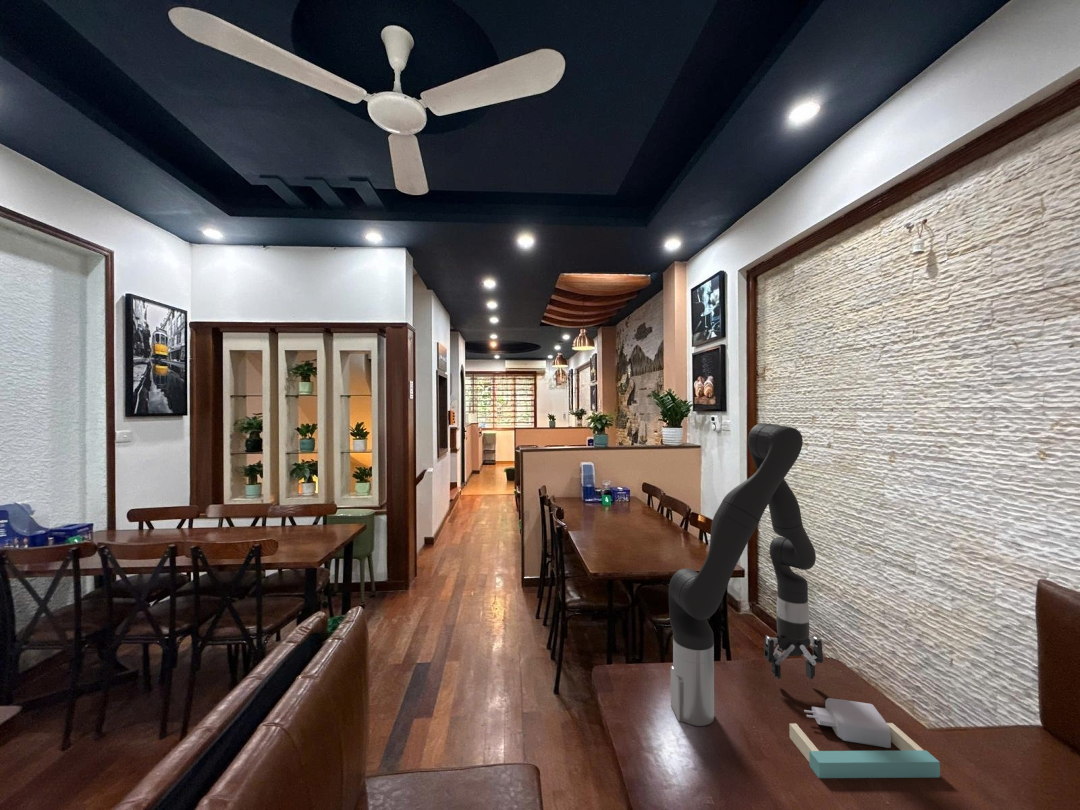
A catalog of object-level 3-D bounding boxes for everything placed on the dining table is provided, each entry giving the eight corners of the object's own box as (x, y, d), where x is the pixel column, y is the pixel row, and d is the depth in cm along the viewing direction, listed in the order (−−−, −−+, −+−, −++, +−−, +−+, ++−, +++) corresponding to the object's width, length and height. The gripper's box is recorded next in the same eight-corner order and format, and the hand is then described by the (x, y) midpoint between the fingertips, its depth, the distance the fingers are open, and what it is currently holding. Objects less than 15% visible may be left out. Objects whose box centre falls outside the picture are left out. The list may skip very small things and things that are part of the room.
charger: (799, 711, 107) (870, 722, 103) (812, 738, 98) (891, 751, 94) (799, 691, 107) (870, 701, 103) (812, 716, 98) (890, 728, 94)
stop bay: (819, 778, 87) (818, 762, 87) (787, 737, 98) (787, 723, 98) (940, 777, 87) (939, 761, 87) (894, 736, 98) (894, 723, 98)
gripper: (773, 622, 113) (773, 686, 113) (828, 622, 113) (829, 686, 113) (758, 609, 121) (759, 669, 120) (811, 609, 121) (811, 669, 120)
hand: (793, 677), depth 117 cm, fingers open, 8 cm apart
